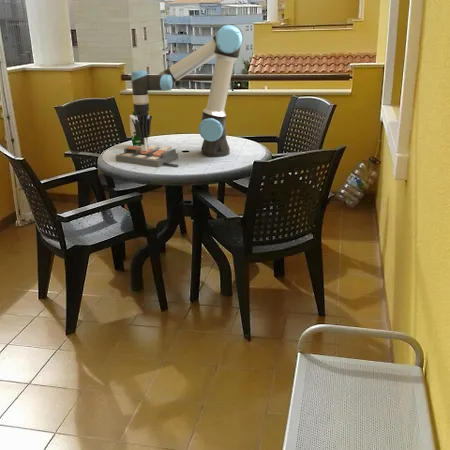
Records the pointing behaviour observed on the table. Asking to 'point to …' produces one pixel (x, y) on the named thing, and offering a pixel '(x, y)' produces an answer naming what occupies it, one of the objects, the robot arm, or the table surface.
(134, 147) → the rocker
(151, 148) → the middle rocker
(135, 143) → the milk carton
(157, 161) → the power strip
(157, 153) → the rocker
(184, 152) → the table surface
